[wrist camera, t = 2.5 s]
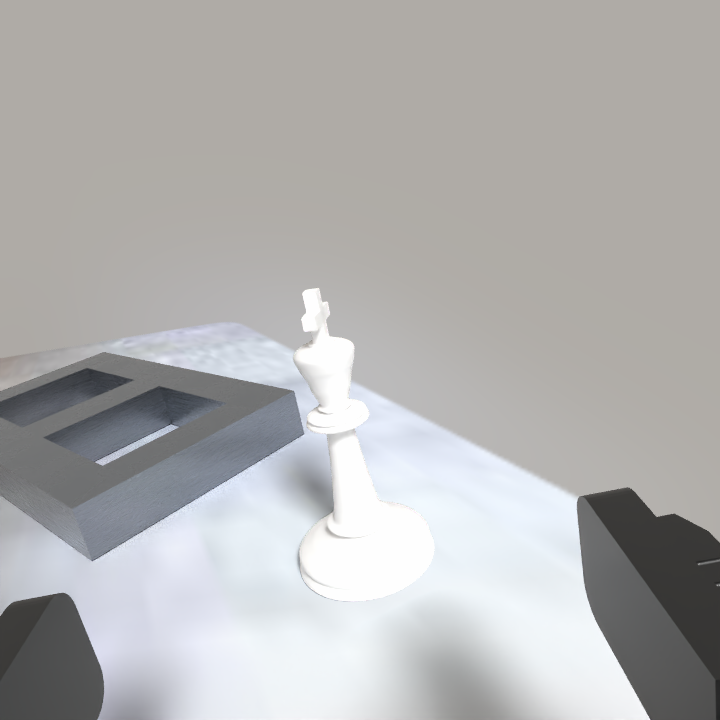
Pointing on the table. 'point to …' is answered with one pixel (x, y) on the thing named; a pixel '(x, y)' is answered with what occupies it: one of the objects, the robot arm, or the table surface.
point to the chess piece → (352, 486)
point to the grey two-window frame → (124, 426)
